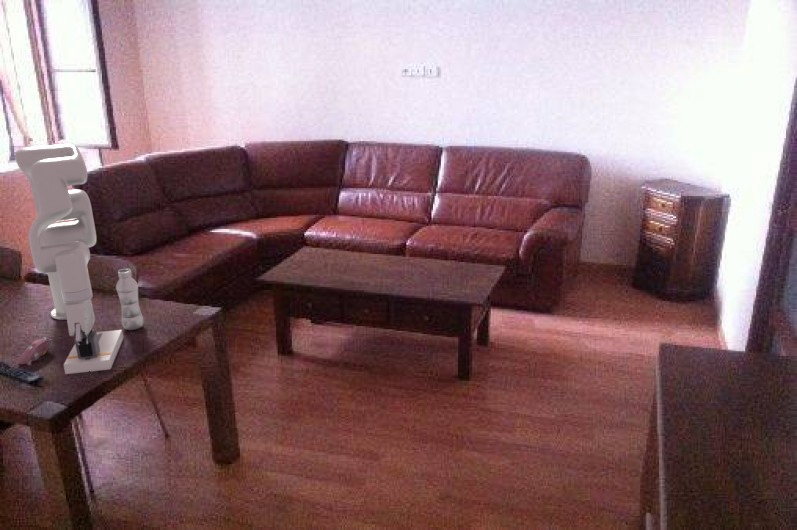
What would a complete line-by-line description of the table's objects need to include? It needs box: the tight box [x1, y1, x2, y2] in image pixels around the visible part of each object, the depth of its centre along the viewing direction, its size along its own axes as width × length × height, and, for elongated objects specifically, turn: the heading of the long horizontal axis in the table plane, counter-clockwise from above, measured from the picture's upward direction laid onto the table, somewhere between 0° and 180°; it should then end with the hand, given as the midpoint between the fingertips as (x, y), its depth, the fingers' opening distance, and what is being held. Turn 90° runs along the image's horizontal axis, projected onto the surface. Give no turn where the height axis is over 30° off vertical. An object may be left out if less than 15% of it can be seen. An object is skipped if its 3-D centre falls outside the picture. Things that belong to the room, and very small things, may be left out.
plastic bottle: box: [115, 268, 144, 331], centre depth 205 cm, size 6×7×20 cm
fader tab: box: [74, 331, 100, 359], centre depth 184 cm, size 4×5×6 cm
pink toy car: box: [17, 336, 54, 365], centre depth 190 cm, size 10×5×7 cm, turn 170°
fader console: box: [63, 329, 124, 375], centre depth 191 cm, size 20×12×3 cm, turn 12°
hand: (88, 351), depth 185 cm, fingers closed on fader tab, 4 cm apart
